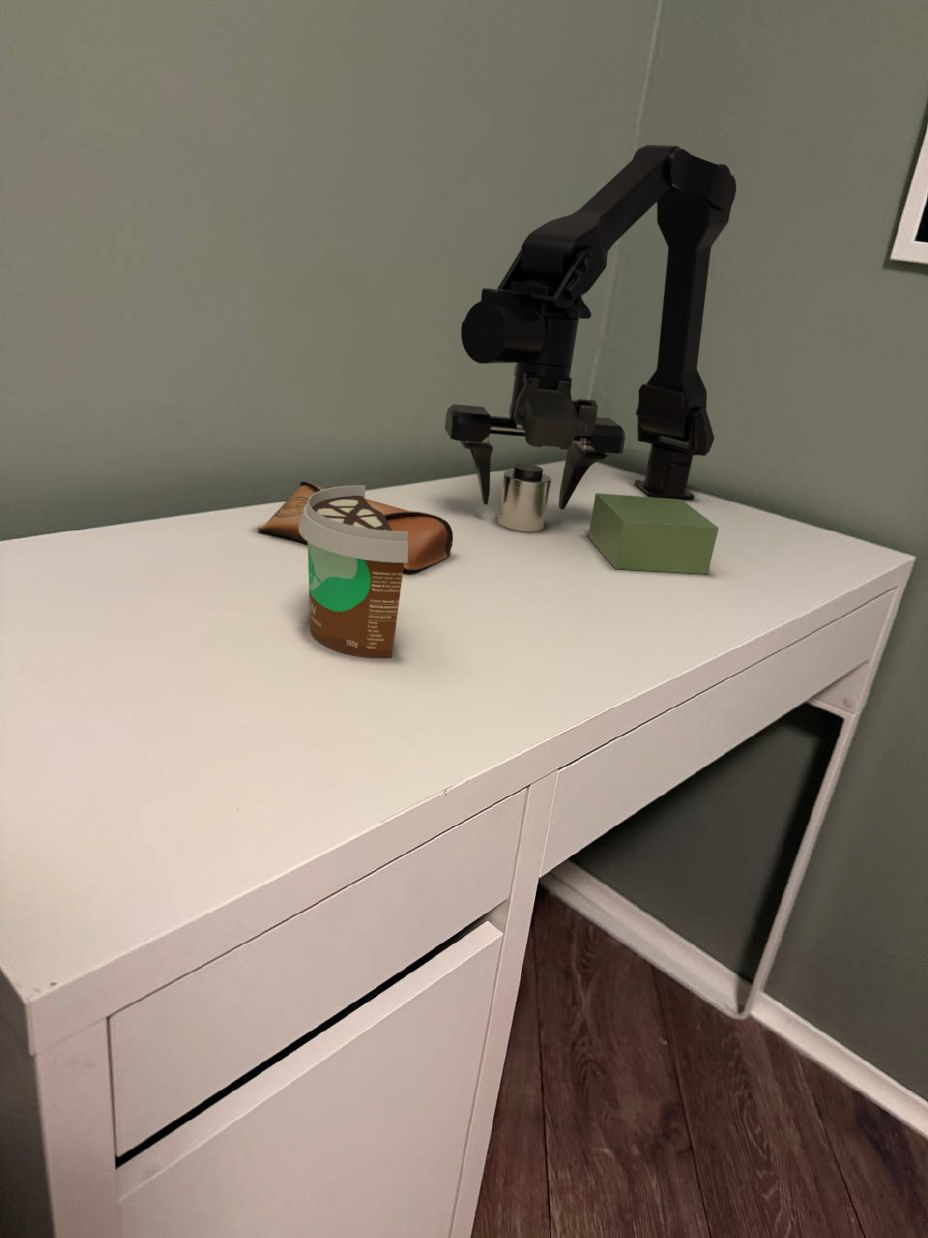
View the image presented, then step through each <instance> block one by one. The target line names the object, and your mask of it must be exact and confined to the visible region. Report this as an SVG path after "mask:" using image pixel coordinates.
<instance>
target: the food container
mask: <svg viewBox="0 0 928 1238" xmlns="http://www.w3.org/2000/svg"><path fill="white" fill-rule="evenodd" d="M324 489H325V490H321V491H319V492H316V493H314V494H313V495H312V496H310V498H309V499H308V503H307V504H306V505H305V507H304V509H303V513H302V516H301V520H300V524H299V529H298V530H299V532H300V534H301V536H302V537H303V538H304V539H305V540H307V541H308V543H307V565H308V567H307V569H308V601H309V603H308V604H309V630H310V634H311V636H312V637H313V638H314V640H316V641H317V643H319V644H321V645H323V646H324V647H326V648H328V649H331V650H334V651H336V652H339V653H342V654H347V655H351V656H356V657H364V658H373V659H374V658H375V659H376V658H378V659H387V658H388V659H389V658H390V659H391V658H393V653H394V644H395V636H396V629H397V622H398V613H399V607H400V599H401V598H400V597H401V591H402V584H403V583H402V582H403V575H404V569H403V568H404V563H408V541H407V536H408V531H393V530H392V529H391V527H390V526H389V524H388V522H387V520H386V518H385V517H384V515H383V514H382V513H381V512H380V511H378V510H376V509H374V508H373V507H371V505H370V504H369V503H368V502H367V501H366V500H365V499H366V485H364V484H363V485H361V484H358V485H355V484H354V485H341V486H334V487H330V488H329V487H328V488H324Z"/></svg>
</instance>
